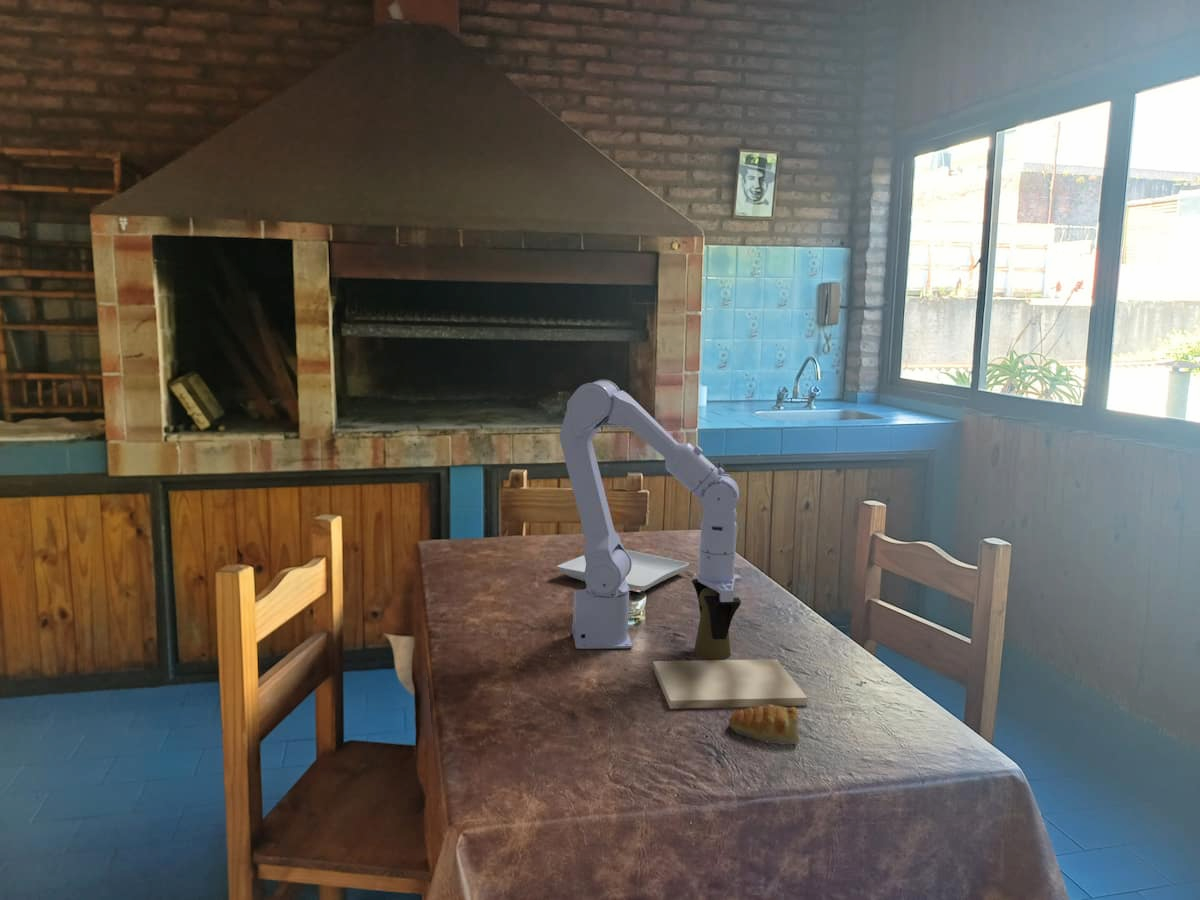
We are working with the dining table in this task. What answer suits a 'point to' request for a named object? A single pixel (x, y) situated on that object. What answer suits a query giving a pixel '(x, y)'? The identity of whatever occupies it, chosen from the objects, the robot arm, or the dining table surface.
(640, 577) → the salad plate
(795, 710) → the pastry
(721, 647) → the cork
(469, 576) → the dining table surface
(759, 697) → the birch board
